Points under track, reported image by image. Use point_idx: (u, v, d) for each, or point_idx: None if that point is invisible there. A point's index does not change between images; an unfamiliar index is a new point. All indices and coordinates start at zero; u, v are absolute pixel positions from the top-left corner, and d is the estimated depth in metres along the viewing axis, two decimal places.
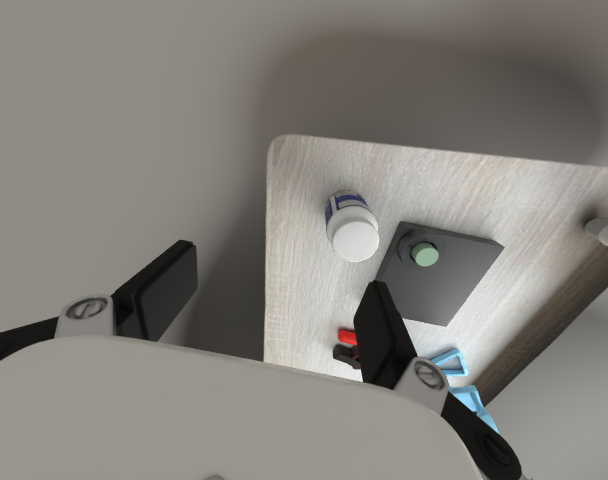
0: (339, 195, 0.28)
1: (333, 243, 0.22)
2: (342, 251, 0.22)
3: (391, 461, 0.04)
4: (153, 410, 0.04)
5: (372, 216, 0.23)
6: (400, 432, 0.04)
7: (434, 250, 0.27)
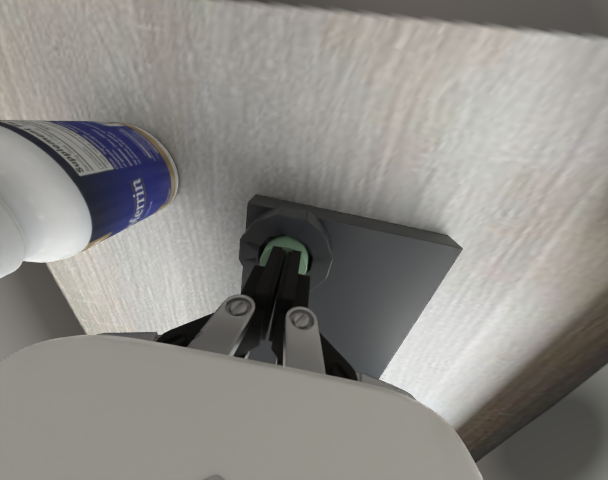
0: None
1: None
2: None
3: (391, 461, 0.04)
4: (153, 410, 0.04)
5: (19, 151, 0.07)
6: (400, 432, 0.04)
7: None
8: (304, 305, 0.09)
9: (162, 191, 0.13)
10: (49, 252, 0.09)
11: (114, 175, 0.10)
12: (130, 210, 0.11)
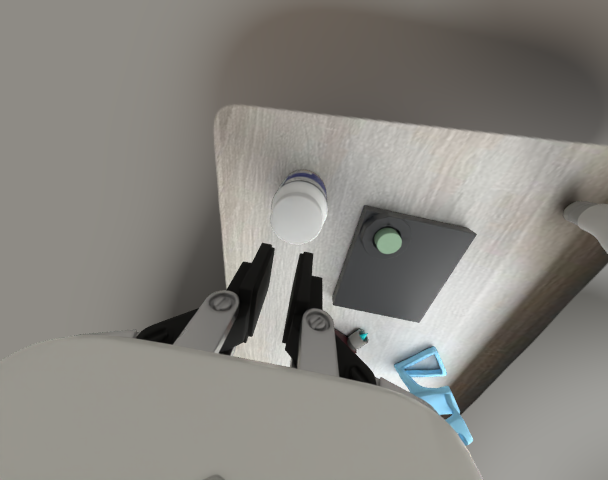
0: (292, 173, 0.25)
1: (271, 222, 0.19)
2: (282, 232, 0.20)
3: (391, 461, 0.04)
4: (153, 410, 0.04)
5: (319, 193, 0.20)
6: (400, 432, 0.04)
7: (396, 235, 0.25)
8: (318, 307, 0.09)
9: None
10: None
11: (326, 199, 0.23)
12: None
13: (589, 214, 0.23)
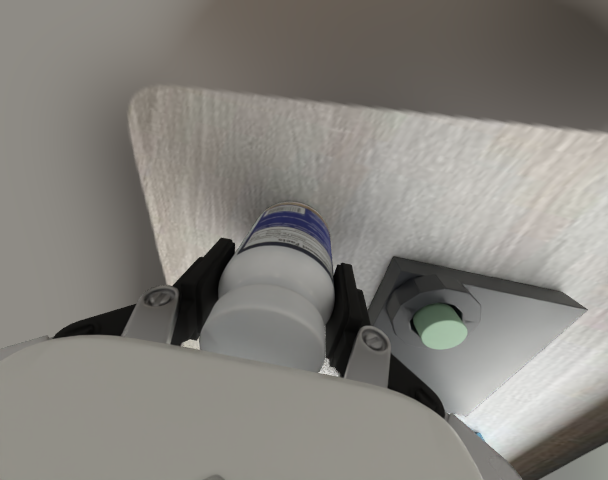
0: (270, 211, 0.14)
1: None
2: None
3: (391, 461, 0.04)
4: (152, 410, 0.04)
5: (317, 273, 0.09)
6: (400, 432, 0.04)
7: (459, 324, 0.13)
8: (366, 323, 0.09)
9: None
10: None
11: (332, 267, 0.12)
12: None
13: None
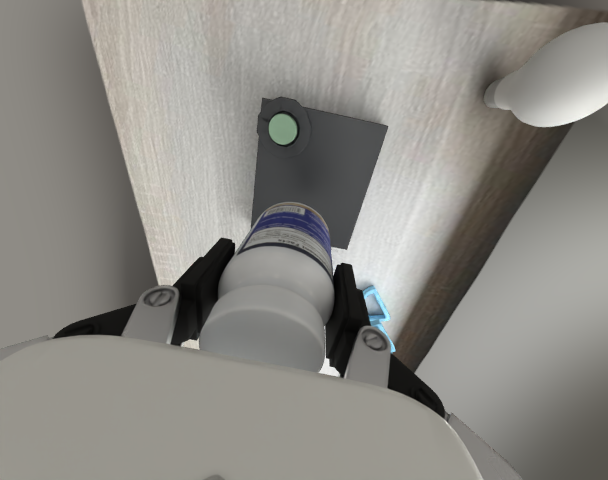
0: (270, 211, 0.14)
1: None
2: None
3: (391, 461, 0.04)
4: (152, 411, 0.04)
5: (317, 273, 0.09)
6: (400, 432, 0.04)
7: (287, 117, 0.21)
8: (366, 323, 0.09)
9: None
10: None
11: (332, 267, 0.12)
12: None
13: (503, 83, 0.20)
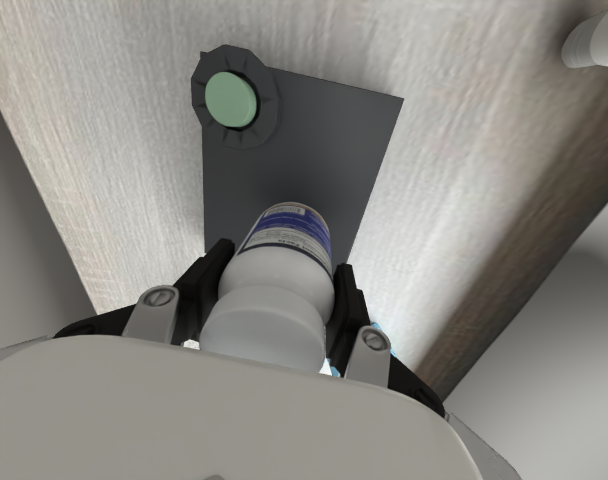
0: (270, 211, 0.14)
1: None
2: None
3: (391, 461, 0.04)
4: (152, 410, 0.04)
5: (317, 274, 0.09)
6: (400, 432, 0.04)
7: (235, 78, 0.13)
8: (366, 323, 0.09)
9: None
10: None
11: (332, 267, 0.12)
12: None
13: None
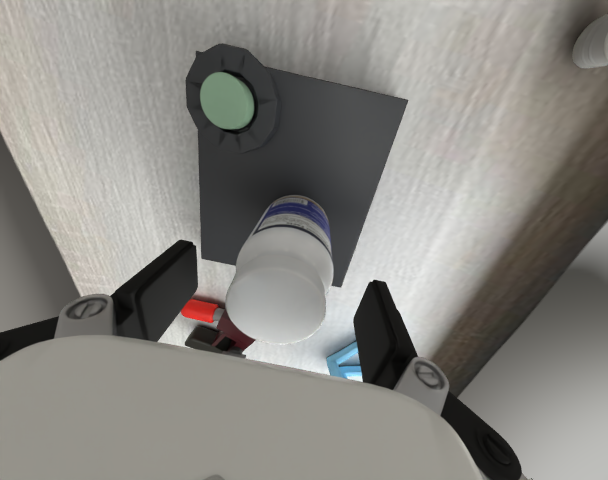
0: (277, 202, 0.16)
1: (228, 310, 0.10)
2: (250, 326, 0.10)
3: (391, 461, 0.04)
4: (152, 411, 0.04)
5: (319, 249, 0.11)
6: (400, 432, 0.04)
7: (231, 79, 0.12)
8: None
9: None
10: None
11: (331, 248, 0.14)
12: None
13: None
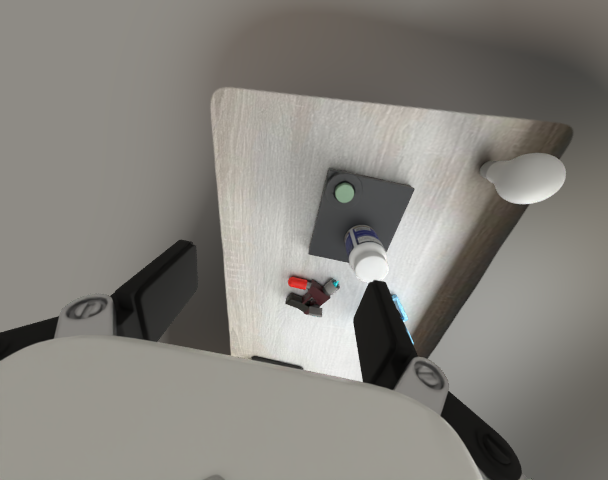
0: (357, 229, 0.36)
1: (355, 270, 0.31)
2: (361, 276, 0.31)
3: (391, 461, 0.04)
4: (152, 410, 0.04)
5: (383, 250, 0.32)
6: (400, 432, 0.04)
7: (349, 187, 0.32)
8: None
9: None
10: None
11: None
12: None
13: (491, 168, 0.31)
